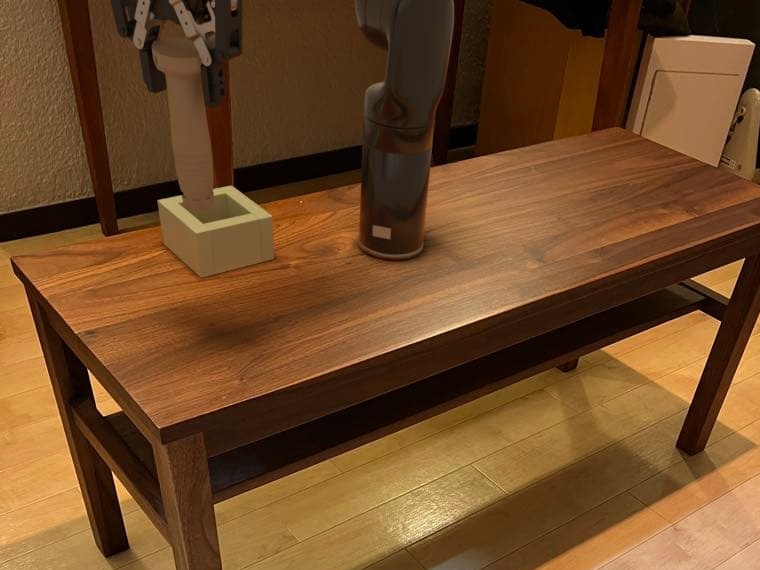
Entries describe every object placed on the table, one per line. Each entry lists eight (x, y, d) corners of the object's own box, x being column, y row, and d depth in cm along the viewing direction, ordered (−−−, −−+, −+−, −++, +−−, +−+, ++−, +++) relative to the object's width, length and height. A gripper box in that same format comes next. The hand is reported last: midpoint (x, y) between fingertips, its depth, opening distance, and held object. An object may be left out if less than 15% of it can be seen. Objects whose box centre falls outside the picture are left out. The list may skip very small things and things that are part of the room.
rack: (234, 227, 115) (231, 185, 111) (274, 259, 109) (272, 215, 105) (163, 243, 110) (157, 200, 105) (201, 278, 104) (196, 233, 100)
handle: (187, 222, 83) (166, 60, 72) (167, 197, 87) (143, 40, 76) (231, 214, 85) (216, 55, 74) (209, 190, 89) (192, 36, 78)
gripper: (257, -113, 67) (268, 104, 79) (122, -136, 71) (152, 73, 83) (201, -103, 62) (222, 126, 74) (60, -129, 66) (101, 92, 78)
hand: (185, 97), depth 78 cm, fingers closed on handle, 6 cm apart
